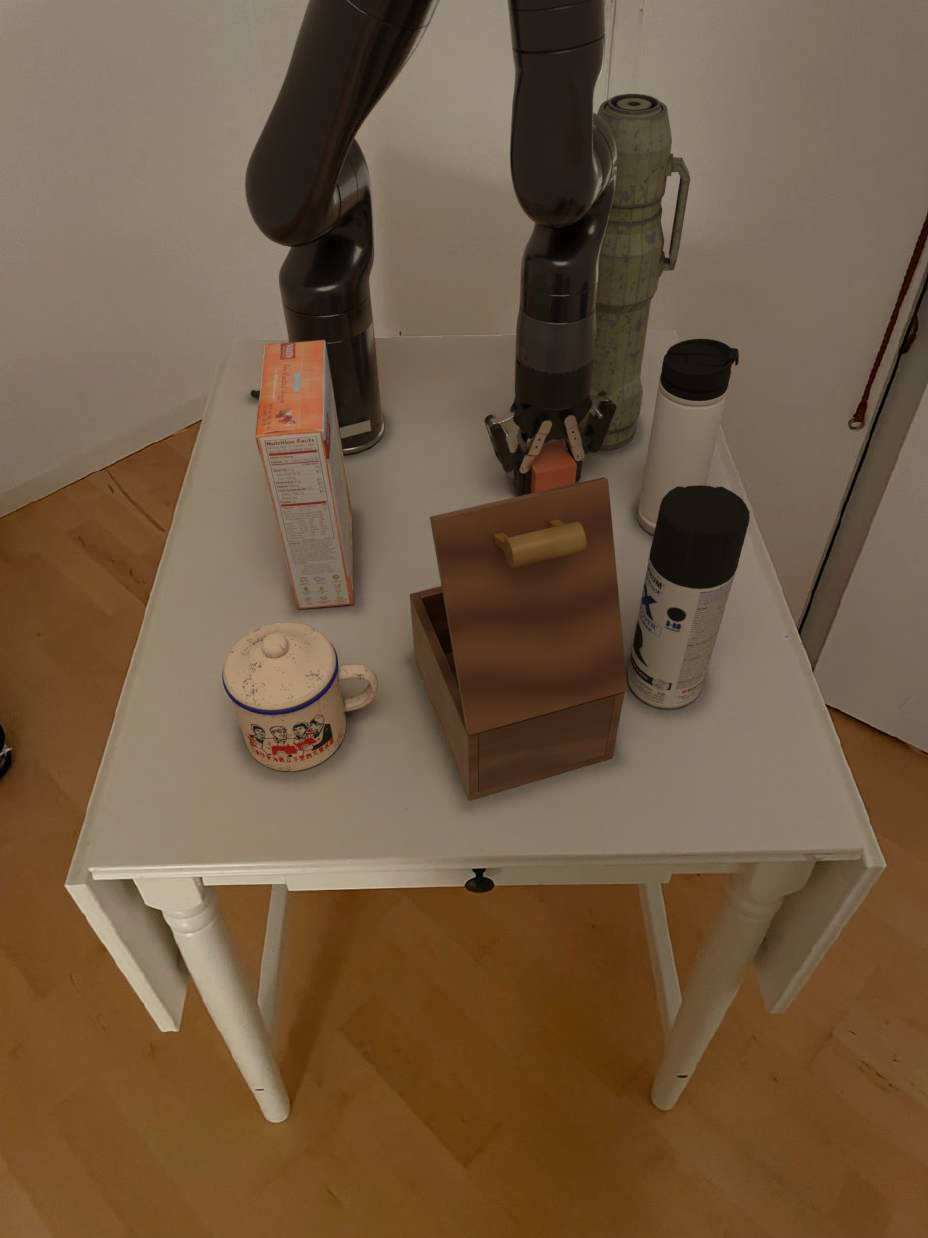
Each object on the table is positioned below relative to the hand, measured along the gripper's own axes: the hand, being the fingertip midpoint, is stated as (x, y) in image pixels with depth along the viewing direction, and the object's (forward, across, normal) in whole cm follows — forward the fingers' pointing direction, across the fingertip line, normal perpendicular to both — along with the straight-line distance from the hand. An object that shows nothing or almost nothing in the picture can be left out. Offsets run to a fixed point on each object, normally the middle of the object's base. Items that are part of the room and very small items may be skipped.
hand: (546, 487), depth 100 cm
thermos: (+1, -10, -9) cm, 13 cm away
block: (0, 0, 0) cm, 0 cm away
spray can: (+1, 0, +28) cm, 28 cm away
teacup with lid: (+1, +31, +23) cm, 39 cm away
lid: (-16, +14, +30) cm, 37 cm away
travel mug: (+1, -10, +9) cm, 14 cm away
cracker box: (+1, +25, +3) cm, 25 cm away
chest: (0, +14, +26) cm, 30 cm away
